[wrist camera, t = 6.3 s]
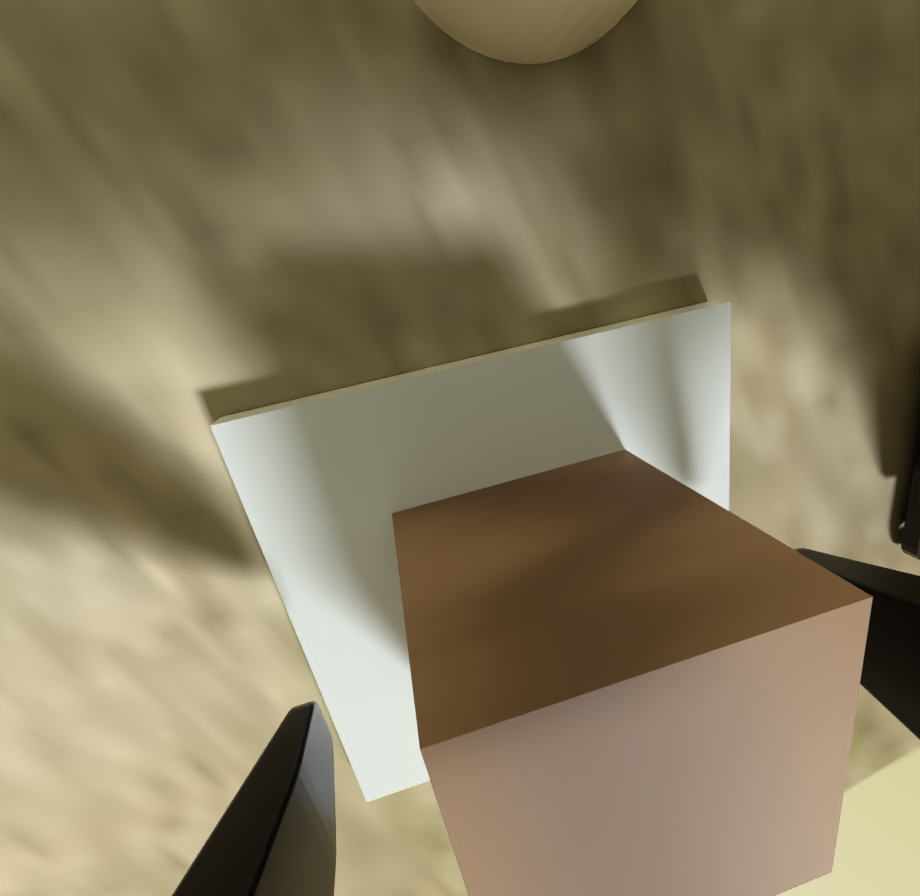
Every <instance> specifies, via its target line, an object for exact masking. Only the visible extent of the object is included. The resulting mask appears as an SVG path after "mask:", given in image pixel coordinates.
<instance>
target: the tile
mask: <svg viewBox="0 0 920 896" xmlns="http://www.w3.org/2000/svg"><path fill="white" fill-rule="evenodd" d="M730 380H731V301H708V302H704V303H700V304H695V305H691V306H687V307H683V308H678V309H674V310H670V311H666V312H662V313H657V314H653V315H649V316H645V317H641V318H636V319H632V320H628V321H624V322H619V323H615V324H611V325H607V326H603V327H598V328H594V329H590V330H586V331H581V332H577V333H573V334H569V335H565V336H560V337H556V338H552V339H548V340H544V341H539V342H535V343H531V344H527V345H522V346H518V347H514V348H510V349H506V350H501V351H497V352H493V353H489V354H484V355H480V356H476V357H472V358H468V359H463V360H459V361H455V362H451V363H447V364H442V365H438V366H434V367H430V368H425V369H421V370H417V371H413V372H409V373H404V374H400V375H396V376H392V377H387V378H383V379H379V380H375V381H371V382H366V383H362V384H358V385H354V386H350V387H345V388H341V389H337V390H333V391H328V392H324V393H320V394H316V395H312V396H307V397H303V398H299V399H295V400H290V401H286V402H282V403H278V404H274V405H269V406H265V407H261V408H257V409H253V410H248V411H244V412H240V413H236V414H231V415H227V416H223V417H220V418H219V419H218V420H216V421H215V422H214V423H213V424H212V425H210V427H211V429H212V432H213V434H214V437H215V439H216V441H217V444H218V446H219V449H220V451H221V453H222V456H223V458H224V461H225V463H226V466H227V468H228V470H229V473H230V475H231V478H232V480H233V482H234V485H235V487H236V490H237V492H238V494H239V497H240V499H241V502H242V504H243V506H244V509H245V511H246V514H247V516H248V518H249V521H250V523H251V526H252V528H253V530H254V533H255V535H256V538H257V540H258V542H259V545H260V547H261V550H262V552H263V554H264V557H265V559H266V562H267V564H268V566H269V569H270V571H271V574H272V576H273V578H274V581H275V583H276V586H277V588H278V590H279V593H280V595H281V598H282V600H283V602H284V605H285V607H286V610H287V612H288V614H289V617H290V619H291V622H292V624H293V626H294V629H295V631H296V634H297V636H298V638H299V641H300V643H301V646H302V648H303V650H304V653H305V655H306V658H307V660H308V662H309V665H310V667H311V670H312V672H313V674H314V677H315V679H316V682H317V684H318V686H319V689H320V691H321V694H322V696H323V698H324V701H325V703H326V706H327V708H328V711H329V713H330V715H331V718H332V720H333V723H334V725H335V727H336V730H337V732H338V735H339V737H340V739H341V742H342V744H343V747H344V749H345V751H346V754H347V756H348V759H349V761H350V763H351V766H352V768H353V771H354V773H355V775H356V778H357V780H358V783H359V785H360V787H361V790H362V792H363V795H364V797H365V799H366V802H369V801H372V800H375V799H378V798H381V797H384V796H386V795H389V794H392V793H395V792H398V791H401V790H404V789H407V788H410V787H412V786H415V785H418V784H421V783H424V782H427V781H430V778H429V775H428V772H427V769H426V766H425V763H424V760H423V757H422V754H421V751H420V746H419V738H418V729H417V721H416V713H415V704H414V696H413V688H412V679H411V671H410V663H409V654H408V646H407V637H406V629H405V621H404V612H403V604H402V596H401V587H400V579H399V570H398V562H397V554H396V545H395V537H394V529H393V520H392V513H395V512H398V511H402V510H406V509H409V508H413V507H417V506H420V505H424V504H427V503H431V502H435V501H438V500H442V499H446V498H449V497H453V496H457V495H460V494H464V493H468V492H471V491H475V490H479V489H482V488H486V487H490V486H493V485H497V484H501V483H504V482H508V481H512V480H515V479H519V478H523V477H526V476H530V475H534V474H537V473H541V472H545V471H548V470H552V469H556V468H559V467H563V466H567V465H570V464H574V463H577V462H581V461H585V460H588V459H592V458H596V457H599V456H603V455H607V454H610V453H614V452H618V451H621V450H627V451H629V452H630V453H632V454H634V455H635V456H637V457H639V458H640V459H642V460H644V461H645V462H647V463H649V464H650V465H652V466H654V467H655V468H657V469H659V470H661V471H662V472H664V473H666V474H667V475H669V476H671V477H672V478H674V479H676V480H677V481H679V482H681V483H682V484H684V485H686V486H687V487H689V488H691V489H693V490H694V491H696V492H698V493H699V494H701V495H703V496H704V497H706V498H708V499H709V500H711V501H713V502H714V503H716V504H718V505H719V506H721V507H723V508H724V509H726V510H728V511H729V467H730Z"/></svg>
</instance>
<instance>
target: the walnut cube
mask: <svg viewBox="0 0 920 896" xmlns="http://www.w3.org/2000/svg"><path fill="white" fill-rule="evenodd" d="M392 520H393V529H394V537H395V545H396V554H397V562H398V570H399V579H400V587H401V596H402V604H403V612H404V621H405V629H406V637H407V646H408V654H409V663H410V671H411V679H412V688H413V696H414V704H415V713H416V721H417V729H418V738H419V746H420V751H421V754H422V757H423V760H424V763H425V766H426V769H427V772H428V775H429V778H430V781H431V784H432V787H433V790H434V793H435V796H436V799H437V802H438V805H439V808H440V811H441V814H442V817H443V820H444V823H445V826H446V829H447V832H448V835H449V838H450V841H451V844H452V847H453V850H454V853H455V856H456V859H457V862H458V865H459V868H460V871H461V874H462V877H463V880H464V883H465V886H466V889H467V892H468V895H469V896H775V895H777V894H780V893H782V892H785V891H787V890H790V889H792V888H794V887H797V886H799V885H802V884H804V883H806V882H809V881H811V880H814V879H816V878H819V877H821V876H823V875H826V874H828V873H831V872H832V866H833V860H834V853H835V847H836V840H837V833H838V827H839V820H840V813H841V806H842V800H843V793H844V787H845V780H846V773H847V766H848V760H849V753H850V746H851V740H852V733H853V726H854V720H855V713H856V706H857V700H858V693H859V686H860V679H861V673H862V666H863V659H864V653H865V646H866V639H867V633H868V626H869V619H870V613H871V606H872V599H873V596H871V595H869V594H867V593H866V592H864V591H862V590H861V589H859V588H857V587H856V586H854V585H852V584H851V583H849V582H847V581H846V580H844V579H842V578H841V577H839V576H837V575H836V574H834V573H832V572H830V571H829V570H827V569H825V568H824V567H822V566H820V565H819V564H817V563H815V562H814V561H812V560H810V559H809V558H807V557H805V556H804V555H802V554H800V553H798V552H797V551H795V550H793V549H792V548H790V547H788V546H787V545H785V544H783V543H782V542H780V541H778V540H777V539H775V538H773V537H772V536H770V535H768V534H767V533H765V532H763V531H761V530H760V529H758V528H756V527H755V526H753V525H751V524H750V523H748V522H746V521H745V520H743V519H741V518H740V517H738V516H736V515H735V514H733V513H731V512H730V511H728V510H726V509H724V508H723V507H721V506H719V505H718V504H716V503H714V502H713V501H711V500H709V499H708V498H706V497H704V496H703V495H701V494H699V493H698V492H696V491H694V490H693V489H691V488H689V487H687V486H686V485H684V484H682V483H681V482H679V481H677V480H676V479H674V478H672V477H671V476H669V475H667V474H666V473H664V472H662V471H661V470H659V469H657V468H655V467H654V466H652V465H650V464H649V463H647V462H645V461H644V460H642V459H640V458H639V457H637V456H635V455H634V454H632V453H630V452H629V451H627V450H621V451H618V452H614V453H610V454H607V455H603V456H599V457H596V458H592V459H588V460H585V461H581V462H577V463H574V464H570V465H567V466H563V467H559V468H556V469H552V470H548V471H545V472H541V473H537V474H534V475H530V476H526V477H523V478H519V479H515V480H512V481H508V482H504V483H501V484H497V485H493V486H490V487H486V488H482V489H479V490H475V491H471V492H468V493H464V494H460V495H457V496H453V497H449V498H446V499H442V500H438V501H435V502H431V503H427V504H424V505H420V506H417V507H413V508H409V509H406V510H402V511H398V512H395V513H392Z"/></svg>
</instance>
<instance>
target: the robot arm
mask: <svg viewBox="0 0 920 896" xmlns="http://www.w3.org/2000/svg"><path fill="white" fill-rule="evenodd" d="M901 548H902V550H903V552H904V553H906V554H908V555H910V556H913V557H915V558H917V559H919V560H920V436H919V442H918V448H917V454H916V459H915V465H914V471H913V477H912V483H911V489H910V495H909V501H908V507H907V513H906V519H905V525H904V530H903V536H902V542H901ZM795 551H797V552H798V553H800V554H802V555H804V556H805V557H807V558H809V559H810V560H812V561H814V562H815V563H817V564H819V565H820V566H822V567H824V568H825V569H827V570H829V571H830V572H832V573H834V574H836V575H837V576H839V577H841V578H842V579H844V580H846V581H847V582H849V583H851V584H852V585H854V586H856V587H857V588H859V589H861V590H862V591H864V592H866V593H867V594H869V595H871V596H873V599H872V606H871V613H870V619H869V626H868V633H867V639H866V646H865V653H864V659H863V666H862V673H861V679H860V684H861V685H862V686H863V687H864V688H865V689H866V690H867V691H868V692H869V693H871V694H872V695H873V696H874V697H875V698H876V699H877V700H878V701H879V702H880V703H881V704H882V705H883V706H884V707H885V708H887V709H888V710H889V711H890V712H891V713H892V714H893V715H894V716H895V717H896V718H897V719H898V720H899V721H900V722H901V723H903V724H904V725H905V726H906V727H907V728H908V729H909V730H910V731H911V732H912V733H913V734H914V735H915V736H916V737H917V738H919V739H920V576H917V575H913V574H909V573H905V572H900V571H896V570H892V569H888V568H884V567H880V566H876V565H871V564H867V563H863V562H859V561H855V560H851V559H846V558H842V557H838V556H834V555H830V554H826V553H822V552H817V551H813V550H809V549H805V548H798V549H795ZM335 868H336V818H335V787H334V755H333V741H332V737H331V733H330V731H329V728H328V726H327V723H326V721H325V719H324V716H323V714H322V712H321V709H320V707H319V705H318V704H317V703H316V702H314V701H312V702H308V703H305V704H302V705H299V706H295V707H293V708H292V709H291V710H290V711H289V712H288V713H287V715H286V717H285V718H284V720H283V721H282V723H281V724H280V726H279V728H278V729H277V731H276V732H275V734H274V735H273V737H272V739H271V740H270V742H269V743H268V745H267V747H266V748H265V750H264V751H263V753H262V754H261V756H260V758H259V759H258V761H257V762H256V764H255V765H254V767H253V769H252V770H251V772H250V773H249V775H248V776H247V778H246V780H245V781H244V783H243V784H242V786H241V787H240V789H239V791H238V792H237V794H236V795H235V797H234V798H233V800H232V802H231V803H230V805H229V806H228V808H227V810H226V811H225V813H224V814H223V816H222V817H221V819H220V821H219V822H218V824H217V825H216V827H215V828H214V830H213V832H212V833H211V835H210V836H209V838H208V839H207V841H206V843H205V844H204V846H203V847H202V849H201V850H200V852H199V854H198V855H197V857H196V858H195V860H194V861H193V863H192V865H191V866H190V868H189V869H188V871H187V873H186V874H185V876H184V877H183V879H182V880H181V882H180V884H179V885H178V887H177V888H176V890H175V891H174V893H173V895H172V896H334V884H335Z"/></svg>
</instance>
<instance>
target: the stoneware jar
mask: <svg viewBox="0 0 920 896" xmlns="http://www.w3.org/2000/svg"><path fill="white" fill-rule="evenodd" d="M413 1H414V2H415V3H416V5H417V6H418V7H419V8H420V9H421V10H422V11H423V12H424V13H425V14H426V15H427V16H428V17H429V19H430V20H431V21H432V22H433V23H434V24H435V25H437V26H438V27H439V28H440V29H442V30H443V31H444V32H445V33H446V34H448V35H449V36H450V37H451V38H453V39H454V40H456V41H458V42H459V43H461V44H462V45H464V46H466V47H467V48H469V49H471V50H473V51H475V52H477V53H480V54H482V55H484V56H487V57H489V58H493V59H496V60H500V61H504V62H508V63H518V64H538V63H547V62H552V61H556V60H560V59H564V58H566V57H568V56H571V55H573V54H575V53H578V52H580V51H582V50H584V49H585V48H587V47H588V46H590V45H592V44H593V43H595V42H596V41H598V40H599V39H600V38H601V37H603V36H604V35H605V34H606V33H607V32H608V31H610V30H611V29H612V28H613V27H614V26H615V25H616V24H617V23H618V22H619V21H620V19H621V18H622V17H623V16H624V15H625V14H626V13H627V12H628V11H629V10H630V9H631V7H632V6H633V5H634V4H635V3H636V2H637V1H638V0H413Z"/></svg>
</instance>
